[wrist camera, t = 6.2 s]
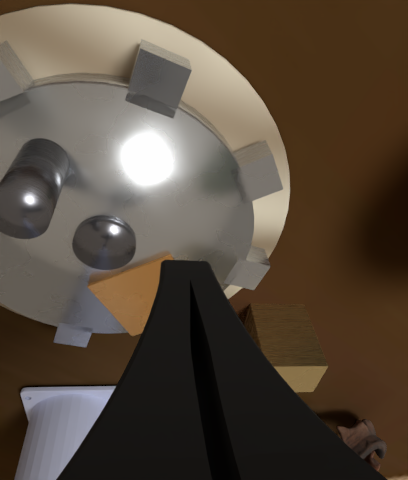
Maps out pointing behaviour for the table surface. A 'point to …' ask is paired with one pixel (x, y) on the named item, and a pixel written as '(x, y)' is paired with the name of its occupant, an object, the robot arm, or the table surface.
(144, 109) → the sprocket
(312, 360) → the wooden block
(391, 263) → the table surface
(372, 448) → the brown irregular piece
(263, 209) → the base plate
